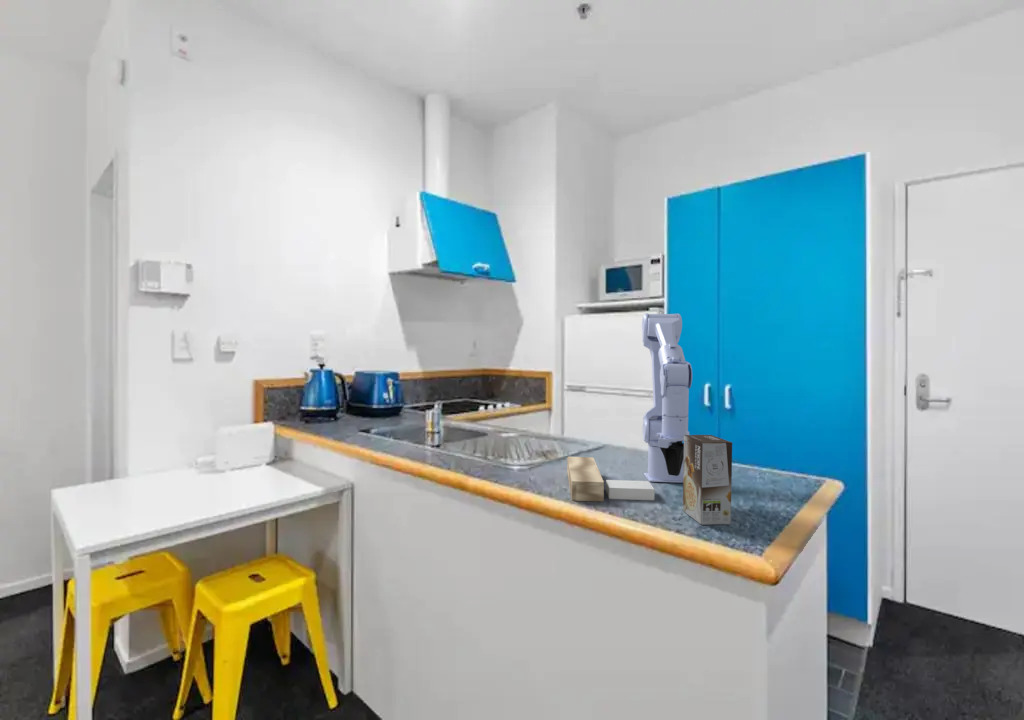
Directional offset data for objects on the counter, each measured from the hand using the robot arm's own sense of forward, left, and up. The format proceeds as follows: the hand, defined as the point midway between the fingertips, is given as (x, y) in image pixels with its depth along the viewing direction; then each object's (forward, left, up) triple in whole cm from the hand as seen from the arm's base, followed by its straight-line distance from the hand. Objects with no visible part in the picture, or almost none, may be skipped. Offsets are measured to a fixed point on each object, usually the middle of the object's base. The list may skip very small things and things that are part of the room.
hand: (673, 474), depth 116 cm
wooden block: (+20, -7, -5) cm, 22 cm away
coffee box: (-3, +14, -5) cm, 15 cm away
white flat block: (+10, 0, -5) cm, 11 cm away
